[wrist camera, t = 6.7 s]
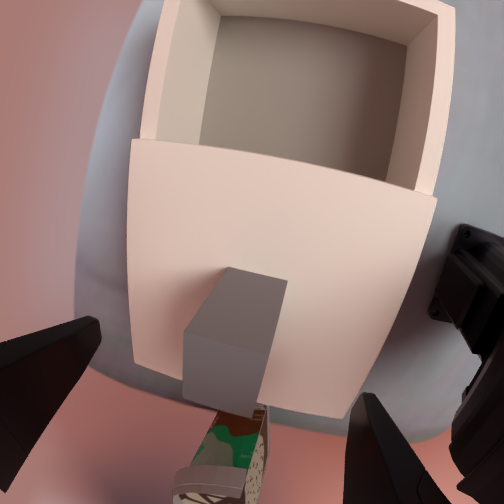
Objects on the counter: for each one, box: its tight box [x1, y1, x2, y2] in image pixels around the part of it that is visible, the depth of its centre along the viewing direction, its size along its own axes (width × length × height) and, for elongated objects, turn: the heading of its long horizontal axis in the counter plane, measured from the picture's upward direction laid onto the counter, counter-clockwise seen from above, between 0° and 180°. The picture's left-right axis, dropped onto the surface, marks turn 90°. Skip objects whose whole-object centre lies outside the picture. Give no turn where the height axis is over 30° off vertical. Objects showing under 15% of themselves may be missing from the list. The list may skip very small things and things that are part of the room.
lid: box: [127, 138, 437, 419], centre depth 11 cm, size 12×12×5 cm
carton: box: [140, 0, 455, 196], centre depth 12 cm, size 12×12×6 cm
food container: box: [172, 402, 269, 504], centre depth 20 cm, size 12×6×10 cm, turn 3°
